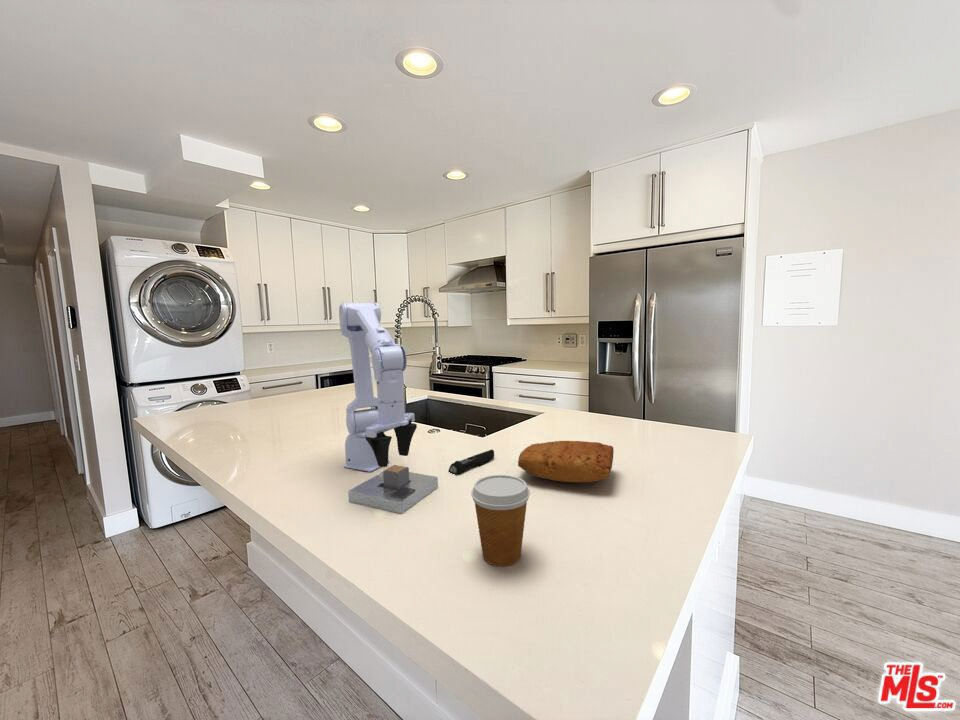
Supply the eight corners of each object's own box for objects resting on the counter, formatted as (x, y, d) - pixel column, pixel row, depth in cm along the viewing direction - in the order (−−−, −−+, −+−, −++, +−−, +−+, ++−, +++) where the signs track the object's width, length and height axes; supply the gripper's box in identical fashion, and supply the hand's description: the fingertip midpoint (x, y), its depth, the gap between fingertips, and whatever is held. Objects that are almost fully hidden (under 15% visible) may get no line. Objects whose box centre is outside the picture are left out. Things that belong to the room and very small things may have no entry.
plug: (384, 496, 89) (383, 470, 88) (395, 489, 92) (394, 464, 92) (398, 500, 87) (397, 473, 86) (409, 492, 91) (408, 466, 90)
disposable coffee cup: (471, 541, 70) (469, 475, 69) (524, 537, 71) (523, 472, 70) (475, 575, 61) (472, 499, 60) (536, 570, 61) (535, 495, 60)
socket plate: (349, 501, 87) (348, 488, 86) (390, 478, 99) (389, 466, 99) (401, 513, 81) (400, 499, 80) (438, 487, 93) (437, 474, 93)
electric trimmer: (498, 461, 111) (497, 450, 111) (457, 477, 100) (457, 464, 100) (488, 458, 114) (488, 447, 113) (447, 473, 102) (447, 461, 102)
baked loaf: (618, 472, 100) (618, 440, 99) (607, 500, 85) (608, 463, 84) (533, 460, 110) (533, 431, 109) (511, 483, 94) (510, 450, 94)
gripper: (383, 408, 80) (387, 474, 81) (424, 395, 93) (426, 452, 94) (356, 406, 83) (360, 469, 84) (399, 393, 96) (402, 449, 97)
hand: (393, 460), depth 89 cm, fingers open, 7 cm apart
